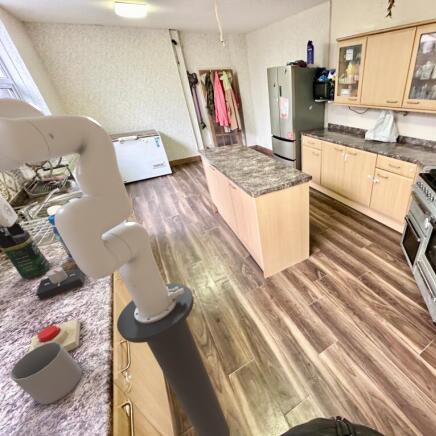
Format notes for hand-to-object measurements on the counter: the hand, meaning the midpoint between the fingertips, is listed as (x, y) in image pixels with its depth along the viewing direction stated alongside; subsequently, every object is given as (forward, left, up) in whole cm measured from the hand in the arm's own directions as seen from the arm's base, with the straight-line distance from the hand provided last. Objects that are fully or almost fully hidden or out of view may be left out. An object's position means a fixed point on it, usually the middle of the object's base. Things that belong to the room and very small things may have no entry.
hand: (15, 240), depth 77 cm
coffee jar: (+6, -18, -22) cm, 29 cm away
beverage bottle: (-8, -22, -22) cm, 32 cm away
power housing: (-5, +32, -22) cm, 39 cm away
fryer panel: (-4, +1, -22) cm, 22 cm away
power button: (-5, +32, -18) cm, 37 cm away
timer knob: (-4, +1, -19) cm, 19 cm away
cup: (-7, +47, -22) cm, 53 cm away
